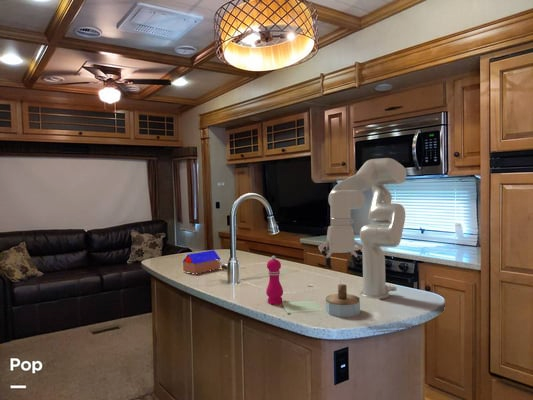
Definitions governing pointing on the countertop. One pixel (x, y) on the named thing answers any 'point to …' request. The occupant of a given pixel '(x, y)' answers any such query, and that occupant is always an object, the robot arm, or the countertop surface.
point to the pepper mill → (274, 282)
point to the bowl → (343, 309)
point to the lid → (342, 297)
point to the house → (201, 262)
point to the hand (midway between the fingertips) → (341, 267)
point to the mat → (301, 306)
